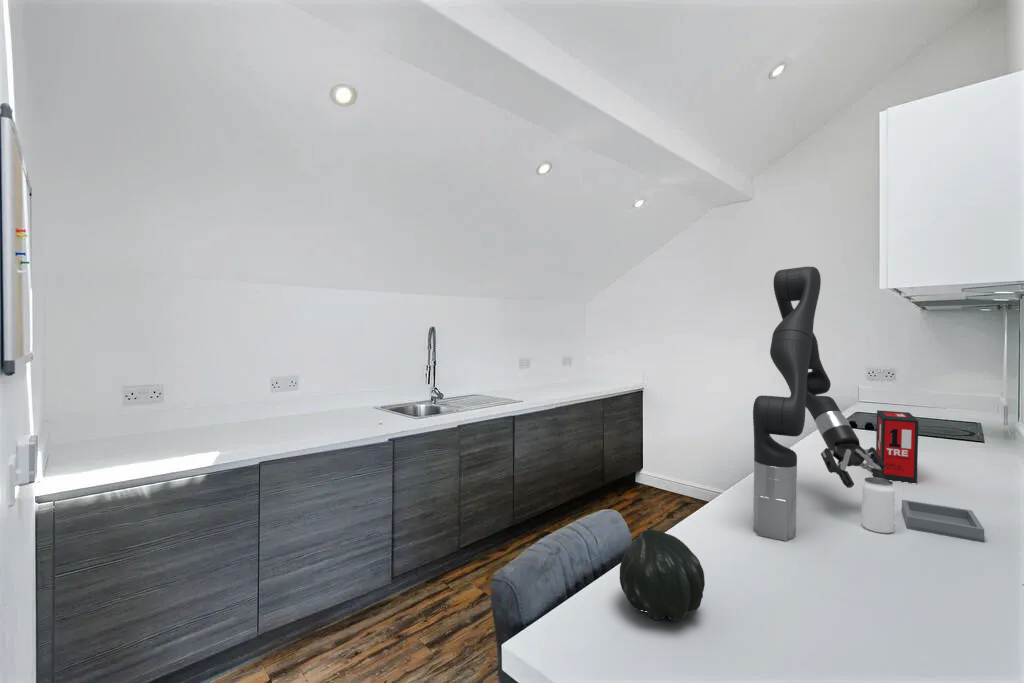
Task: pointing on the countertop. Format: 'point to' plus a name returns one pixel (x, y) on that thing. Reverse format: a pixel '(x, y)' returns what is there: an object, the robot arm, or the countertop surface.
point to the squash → (661, 576)
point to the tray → (942, 520)
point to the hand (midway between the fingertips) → (867, 486)
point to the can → (878, 505)
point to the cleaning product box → (898, 445)
